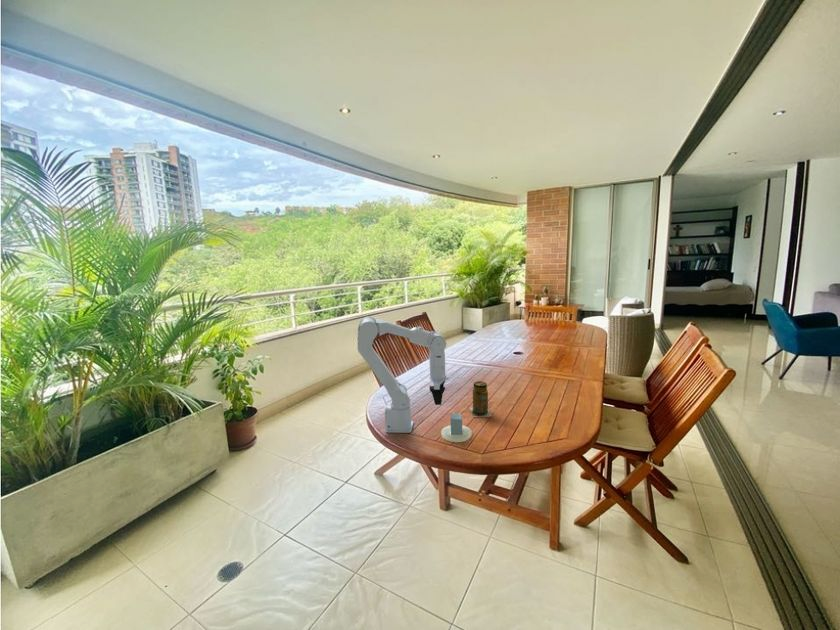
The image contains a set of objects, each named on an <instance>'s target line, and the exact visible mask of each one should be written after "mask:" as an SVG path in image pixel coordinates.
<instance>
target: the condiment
mask: <svg viewBox="0 0 840 630" xmlns="http://www.w3.org/2000/svg"><path fill="white" fill-rule="evenodd" d="M472 388H473V389H472V407H469V410H470V412H471V414H472V416H473V417H474V418H486V417H489V418H491V417H493V415H492V414H491V413H492V412H490V410H489V391H488V384H487V383H486V381H481V380H479V381H475V382H473V387H472Z"/></svg>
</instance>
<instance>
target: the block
mask: <svg viewBox="0 0 840 630" xmlns="http://www.w3.org/2000/svg"><path fill="white" fill-rule="evenodd" d="M450 425H451V435H462V425H463V414H462V413H450Z"/></svg>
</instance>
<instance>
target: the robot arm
mask: <svg viewBox="0 0 840 630" xmlns="http://www.w3.org/2000/svg"><path fill="white" fill-rule="evenodd" d="M385 334H391V335H395V336H400V337H403V338H406V339H408V341H409V343H413V344H415V345H418V346H422V347H426V348H429V380H430V382H431V384H432V385H429V391H430V393H431V395H432V398H433V400H434V401H433V402H434V405H436V406H439V405H442V402H443V401H442V400H443V394H444V391H445V390H446V386H444V385H445V382H446V381H447V380H449V378H450V375H446V352H445V349H446V347H447V341H446V339H445V338H444V337H443V335H441V334H440V333H439V332H437V331H434V330H431V331H429V330H425V329H423V327H422V326H420V325H419V326H417V327H416V326H415V327H412V328H408V327H405V326H402V325H399V324H397V323H393V322H391V321H387V320H384V319H381V318H378V317H376V318H374V317H372V316H365V317H363V318H362V319H361V320H360V321H359V325H358V327H357V351H358V353H359V355H360V356H361V357H362V359H363V360H364V361H365V362H366V364H367V365H368V367H369V368H370V369H371V370H372V372H373V374H375V376H376V377H377V378H378V380H379V381H380V382H381V384H382V386H384V388H385V389H386V391H387V394H388V396H389V397H390V398H391V400H392V401H391V403H390V404H386V405H385V408H384V423H385V425H384V426H385V433H394V434H395V433H396V434H397V433H398V434H399V433H401V434H403V433H404V434H409V433H412V430H413V425H414V420H412V415H411V414H412V413H411V412H412V411H411V398H410V396H409V394H408V389H407V387H406V386H405V384H404V385H403V384H402V383H400V382H399V380H398V379H397V378H395V376H394V375H393V373H392V372H391V371H390V370H389V368H388V366H387V365H386V364H385V362H384V361H383V360H382V359H381V357H380V356H379V354H378V353H377V351H375V349H374V348H373V344H374V340H375V339H376V337H377V336H378V335H379V336H382V335H385Z"/></svg>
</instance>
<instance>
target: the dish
mask: <svg viewBox="0 0 840 630" xmlns="http://www.w3.org/2000/svg"><path fill="white" fill-rule="evenodd" d="M440 433H441V434H440V435H441V437H442V438H443V439H444V440H446V441H448V442H452V443H463V442H466V441H468V440H470V439H471V438H472V436H473V431H472V430H471V428H469V427H468V426H466V425H463V424H462V435H451V424H449V425H447V426H445V427H443V428H442V429H441V431H440Z"/></svg>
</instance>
